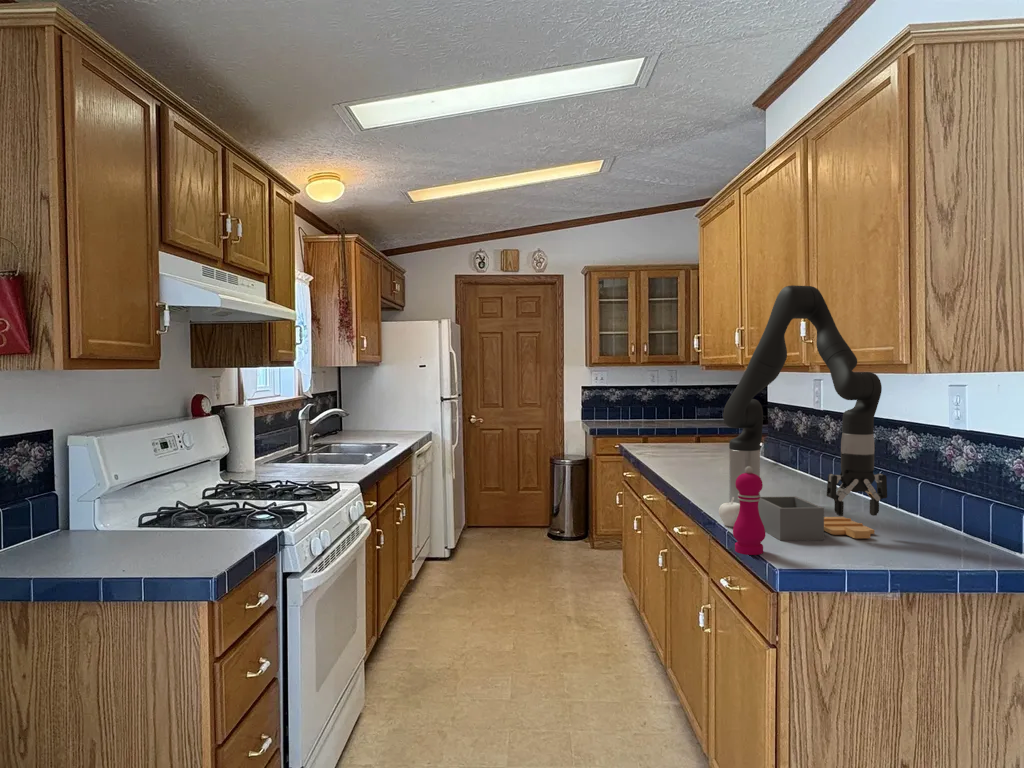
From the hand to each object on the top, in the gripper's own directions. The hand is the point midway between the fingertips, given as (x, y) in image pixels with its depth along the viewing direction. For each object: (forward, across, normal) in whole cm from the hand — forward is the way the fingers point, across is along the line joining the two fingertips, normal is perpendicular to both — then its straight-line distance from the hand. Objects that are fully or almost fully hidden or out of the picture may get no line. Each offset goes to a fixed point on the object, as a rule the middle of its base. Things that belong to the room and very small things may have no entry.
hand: (856, 515), depth 173 cm
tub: (+6, +15, -6) cm, 17 cm away
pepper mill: (+6, +32, +12) cm, 35 cm away
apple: (+6, +26, -15) cm, 31 cm away
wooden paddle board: (+6, 0, -8) cm, 10 cm away
